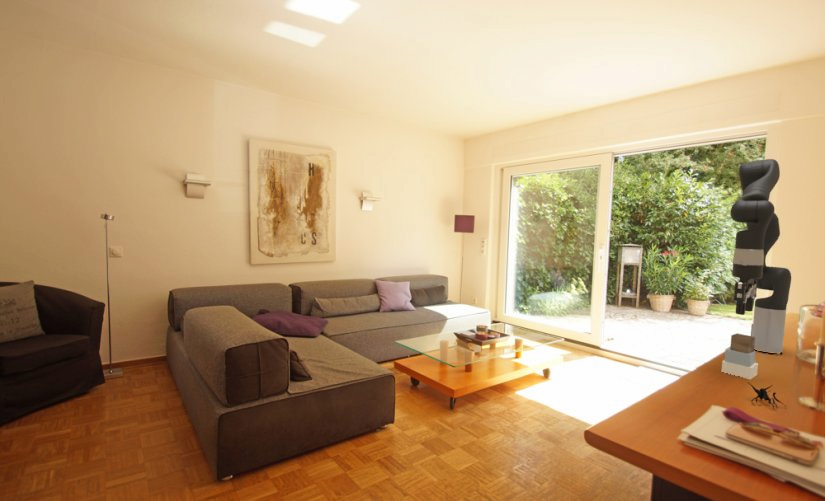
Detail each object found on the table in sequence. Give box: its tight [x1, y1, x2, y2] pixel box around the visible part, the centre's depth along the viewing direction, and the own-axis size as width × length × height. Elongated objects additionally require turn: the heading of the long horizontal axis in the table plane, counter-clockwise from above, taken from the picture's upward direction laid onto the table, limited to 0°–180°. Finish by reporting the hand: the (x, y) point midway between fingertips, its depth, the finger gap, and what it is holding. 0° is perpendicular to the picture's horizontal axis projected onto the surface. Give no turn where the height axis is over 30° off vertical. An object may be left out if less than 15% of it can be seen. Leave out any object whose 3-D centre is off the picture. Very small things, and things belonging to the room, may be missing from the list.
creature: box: [746, 382, 787, 410], centre depth 108 cm, size 8×5×8 cm
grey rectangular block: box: [724, 346, 757, 367], centre depth 131 cm, size 6×6×4 cm
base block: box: [720, 359, 759, 380], centre depth 132 cm, size 8×8×4 cm
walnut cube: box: [729, 333, 755, 354], centre depth 131 cm, size 5×5×5 cm
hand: (744, 312), depth 130 cm, fingers open, 8 cm apart
